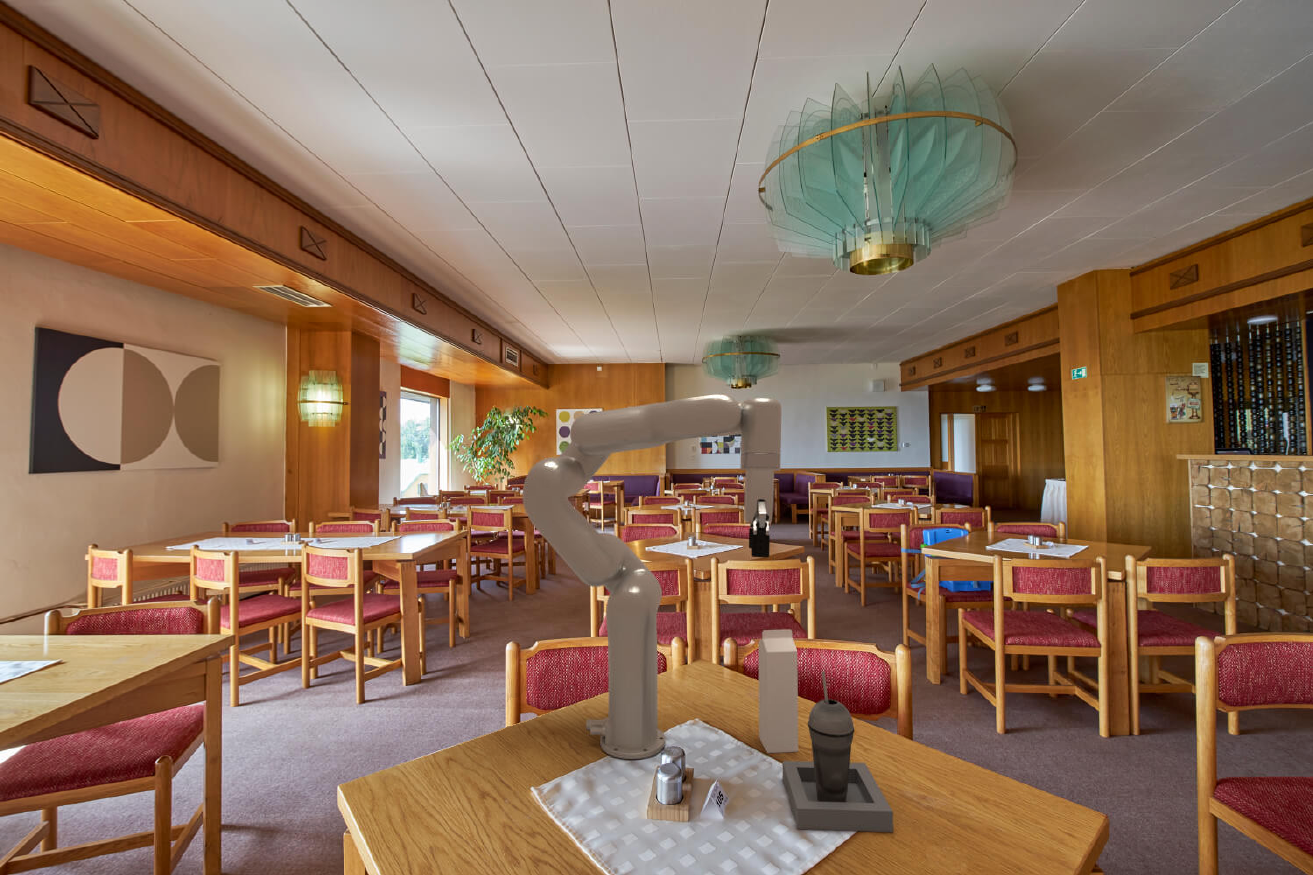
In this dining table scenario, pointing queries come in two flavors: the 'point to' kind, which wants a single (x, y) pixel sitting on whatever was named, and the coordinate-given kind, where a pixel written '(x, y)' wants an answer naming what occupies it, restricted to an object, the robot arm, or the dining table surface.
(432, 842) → the dining table surface
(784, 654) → the milk
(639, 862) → the dining table surface
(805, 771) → the tray
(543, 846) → the dining table surface
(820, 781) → the beverage cup
